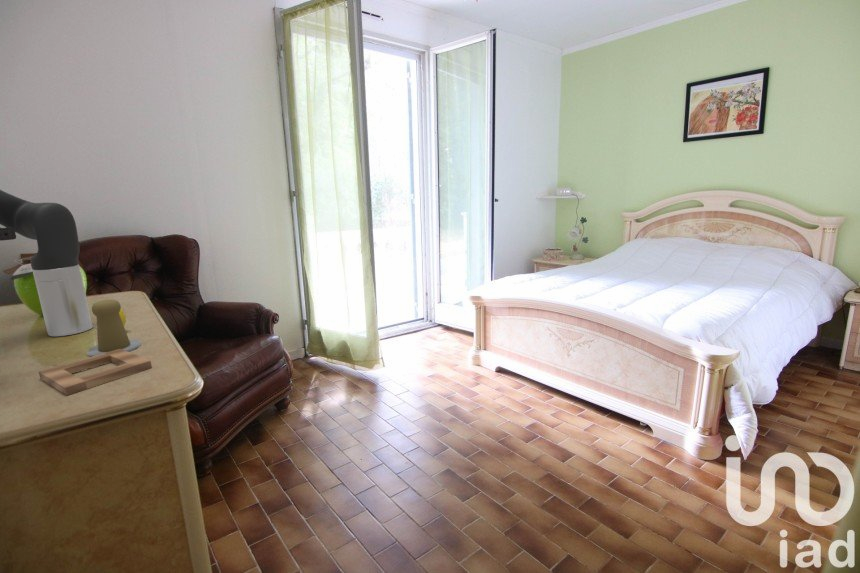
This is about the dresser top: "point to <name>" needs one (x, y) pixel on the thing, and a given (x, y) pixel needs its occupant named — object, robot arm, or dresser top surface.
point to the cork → (110, 326)
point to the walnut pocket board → (72, 384)
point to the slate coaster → (133, 345)
